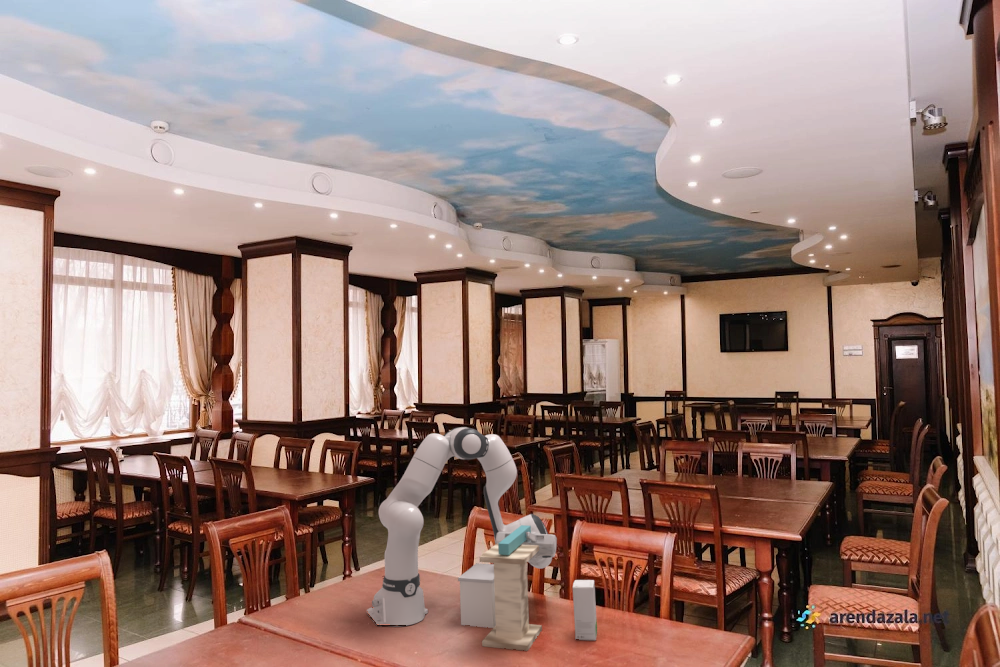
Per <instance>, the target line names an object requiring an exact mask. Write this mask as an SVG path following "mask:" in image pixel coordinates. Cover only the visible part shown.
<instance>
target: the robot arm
mask: <svg viewBox="0 0 1000 667" xmlns="http://www.w3.org/2000/svg"><path fill="white" fill-rule="evenodd" d="M452 457H453V458H457V459H460V460H475V459H477V460H478V461H479V463H480V464H481V466H482V469H483V472H484V473H485V477H486V483H485V485H484V486H483V495H484V496H483V498H484V501H485V506H486V509H487V513H488V516H489V520H490V524H491V527H492V532H493V537H494V538H493V539H494V543H495V544H497V543H500V542H501V541H502V540H503V539H505V538H506V537H507V536H508V535H510V534H511V533H512V532H514V531H515V530H516V529H517V528H519V527H520V526H521V525H525V526H531V533H530V532H525V538H526V540H525V541H524V542H523V543H522V544H521V545H538V546H539V551H538V552H537V553H536V554H535V555H534V556H533V557H532V558H531V559H530V560H529V561H528V562H527V563H529V565H531V566H532V567H533V568H535V569H544V568H546V567H548V566H549V565H550V564H551V563H552V560H553V558H555V557H556V552H557V541H558V538H557V536H556V535H555V534H549V532H548V530H547V527H546V526H545V524H544V522H543V521H542V519H541V518H540V517H539V516H538V515H536V514H534V513H530V514H527V515H525V516H523V517H520V518H519V519H518V520H515V521H512V522H511V523H508V524H504V522H503V517H502V514H501V510H500V507H499V501H500V499H501V497H502V496H503V495H504V494H505V493H506V492H507V491H508V490H509V489H510V488H511V487H512V485H513V484H514V482H515V480H516V479H517V475H518V469H517V466H516V463H515V461H514V459H513V456H512V454H511V453H510V450H509V449H508V447H507V445H506V444H505V443H504V441H503V439H502V438H501V437H500V435H498V434H496V433H495V434H494V433H493V434H492V433H491V434H486V435H483V433H481V432H480V431H478V430H477V429H475V428H471V427H467V426H461V427H455V428H452V429H451V430H449V431H447V432H446V433H445V434H441V433H440V434H439V433H433V432H432V433H430V434H427V435H426V437H425V438H424V439H423V440H422V442H421V443H420V445H419V446H418V447H417V449H416V450H415V452H414V454H413V456H412V458H411V460H410V462H409V463H408V465H407V467H406V470H404V474H402V477H401V478H400V480H399V482H398V483H397V484H396V486H395V487H394V488H393V490H392V491H391V492H390V493H389V495H388V496H387V498H386V499H385V500H383V501H382V502H381V503H380V505H379V507H378V517H379V520H380V523H381V524H382V525H383V527H385V528H386V530H387V532H388V533H387V535H388V536H387V543H386V548H385V551H384V575H383V576H382V577H383V578H382V586H381V588H380V589H379V590H378V591H377V592H376V593H375V594H374V596H373V599H372V600H371V607H369V608H367V609H366V612H367V611H368V613H369V614H370V616H371V617H372V618H373V619H374V621H375V622H376V624H379V625H380V624H390V625H406V626H411V625H414V624H415V625H416V624H417V623H419V622H421V621H423V620H424V619H425V616H426V615H425V614H429V610H428V608H426V606H425V598H424V597H425V596H424V590H423V588H422V587H421V586H420V584H421V577H420V573H419V543H420V539H421V531H422V530H423V527H424V520H425V519H424V516H423V514H422V512H421V510H420V508H419V506H420V505H421V503H422V502H423V500H425V499H426V497H427V496H428V495H430V494H431V492H433V489H434V488H435V485H436V483H437V481H438V479H439V477H440V475H441V473H442V471H443V469H444V467H445V465H446V463H447V462H448V460H450V458H452ZM495 544H494V545H495ZM372 607H374V608H372ZM370 616H369V617H370ZM374 621H373V622H374ZM376 624H375V625H376Z"/></svg>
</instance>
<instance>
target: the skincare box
mask: <svg viewBox="0 0 1000 667" xmlns="http://www.w3.org/2000/svg"><path fill="white" fill-rule="evenodd" d="M572 600H573V603H572V604H573V618H574V619H573V620H574V632H575V633H574V635H575V636H574V637H575V640H576V639H579V640H578V641H597V635H598V622H597V620H598V619H597V607H596V606H597V605H596V586H595V580H594V579H575V580H574V581H573V583H572Z"/></svg>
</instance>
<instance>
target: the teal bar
mask: <svg viewBox="0 0 1000 667" xmlns="http://www.w3.org/2000/svg"><path fill="white" fill-rule="evenodd" d="M525 532H530V533H531V526H525V525H521V526H520V527H519V528H517V529H516V530H515V531H514V532H512V533H511V534H510V535H508V536H507V537H506V538H505V539H503V540H502V541H501V542H500V543H498V550H499V554H501V555H509V554H511V553H512V552H513V551H514V550H515V549H516V548H517V547H519V546H520V545H521V544H522V543H523V542H524V541H525V540H526V538H525Z"/></svg>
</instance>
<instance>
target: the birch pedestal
mask: <svg viewBox="0 0 1000 667" xmlns="http://www.w3.org/2000/svg"><path fill="white" fill-rule="evenodd" d="M538 551H539V546H538V545H520V546H519V547H517V548H516V549H515V550H514V551H513V552H512V553H511V554H509V555H501V554H499V550H498V543H497V544H494V545H493V546H492V547H490V548H489V549H487V550H486V551H485V552H484V553H482V554H480V556H479V563H487V564H494V588H495V618H496V626H495V627H494V628H491V630H490V632H489V633H488V634H487V635H486V636H485V637H484V638H483V639H482V641H481V644H482V645H481V646H482V647H486V648H495V649H504V648H506V649H507V650H513V649H516V650H515V651H523V650H524V651H526V652H528V651H529V650H530V648H532V645H533V644H534V643H535V641H536V640H537V638H538V637H539V636H540V634H541V633H540V632H542V631H543V625H542V624H541V625H540V624H533V623H531V624H530V614H529V591H528V590H529V589H528V588H529V586H528V563H529V562H528V561H529V560H530V559H531V558H532V557H533V556H534V555H535V554H536V553H537V552H538ZM537 636H538V637H537ZM535 639H536V640H535ZM533 642H534V643H533ZM506 649H505V650H506Z"/></svg>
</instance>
